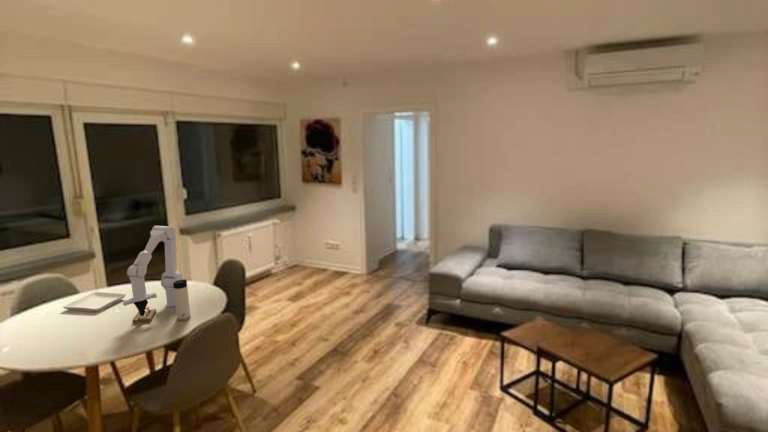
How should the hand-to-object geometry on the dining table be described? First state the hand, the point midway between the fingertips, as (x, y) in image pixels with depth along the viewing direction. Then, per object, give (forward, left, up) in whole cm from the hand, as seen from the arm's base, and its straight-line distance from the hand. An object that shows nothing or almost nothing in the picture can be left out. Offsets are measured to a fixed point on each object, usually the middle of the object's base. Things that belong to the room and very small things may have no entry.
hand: (142, 315), depth 212 cm
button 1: (0, 0, -2) cm, 2 cm away
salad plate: (+30, -32, -4) cm, 44 cm away
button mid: (0, -4, -1) cm, 4 cm away
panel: (0, -4, -3) cm, 5 cm away
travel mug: (-19, +2, -3) cm, 19 cm away
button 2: (0, -8, -1) cm, 8 cm away
